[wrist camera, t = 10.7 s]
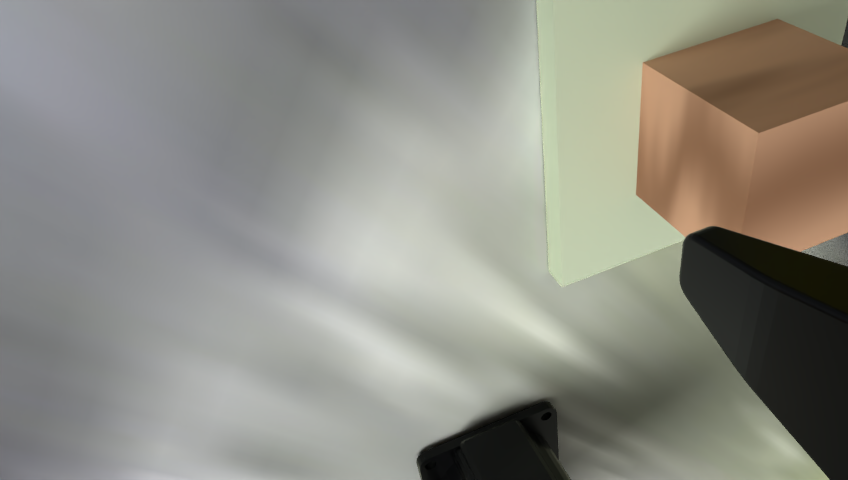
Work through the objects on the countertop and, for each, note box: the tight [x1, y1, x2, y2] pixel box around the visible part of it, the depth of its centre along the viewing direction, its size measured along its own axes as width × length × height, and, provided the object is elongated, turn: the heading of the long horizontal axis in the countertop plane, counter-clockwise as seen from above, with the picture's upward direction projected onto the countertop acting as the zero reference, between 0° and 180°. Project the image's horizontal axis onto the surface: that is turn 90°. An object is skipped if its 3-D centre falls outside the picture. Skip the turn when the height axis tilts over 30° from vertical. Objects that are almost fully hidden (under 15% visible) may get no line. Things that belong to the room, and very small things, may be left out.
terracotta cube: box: [636, 19, 848, 252], centre depth 22 cm, size 5×5×5 cm
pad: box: [536, 0, 848, 287], centre depth 24 cm, size 11×11×1 cm
